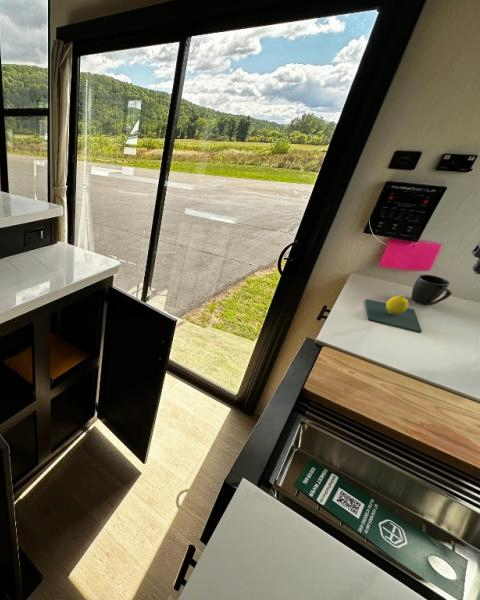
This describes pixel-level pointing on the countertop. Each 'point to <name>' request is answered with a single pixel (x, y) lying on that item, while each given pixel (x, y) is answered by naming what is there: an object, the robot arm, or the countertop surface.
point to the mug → (430, 289)
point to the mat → (392, 316)
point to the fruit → (397, 304)
